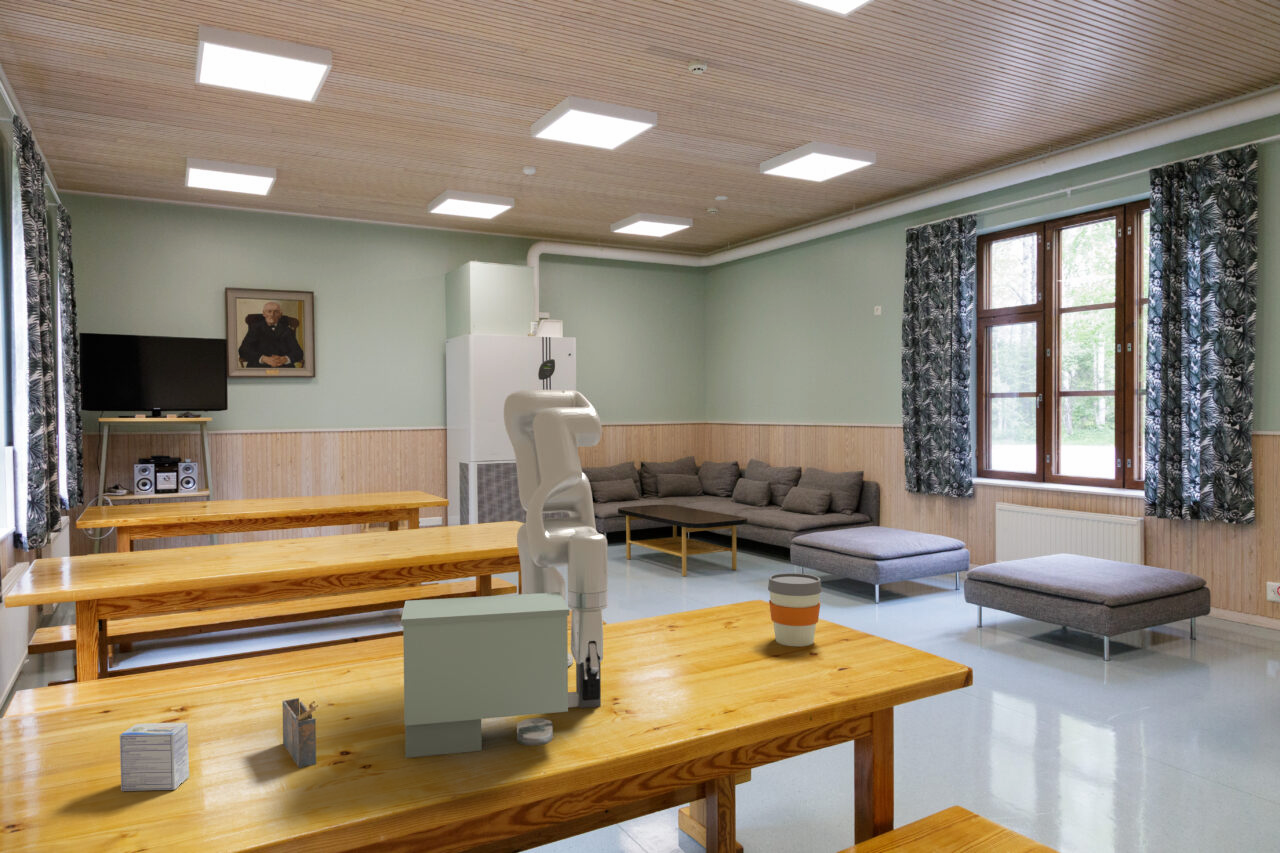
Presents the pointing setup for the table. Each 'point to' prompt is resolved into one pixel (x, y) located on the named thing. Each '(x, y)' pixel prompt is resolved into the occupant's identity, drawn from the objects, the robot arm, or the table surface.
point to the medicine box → (154, 756)
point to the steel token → (534, 731)
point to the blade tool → (576, 697)
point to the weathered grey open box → (299, 732)
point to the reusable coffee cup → (794, 607)
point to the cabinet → (480, 666)
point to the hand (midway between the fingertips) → (588, 692)
